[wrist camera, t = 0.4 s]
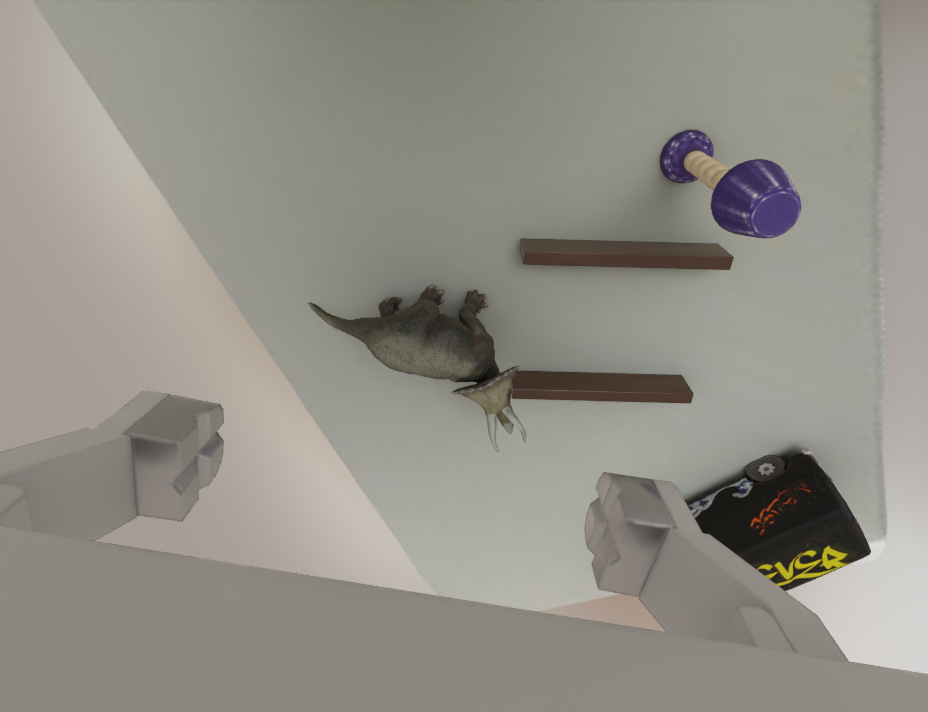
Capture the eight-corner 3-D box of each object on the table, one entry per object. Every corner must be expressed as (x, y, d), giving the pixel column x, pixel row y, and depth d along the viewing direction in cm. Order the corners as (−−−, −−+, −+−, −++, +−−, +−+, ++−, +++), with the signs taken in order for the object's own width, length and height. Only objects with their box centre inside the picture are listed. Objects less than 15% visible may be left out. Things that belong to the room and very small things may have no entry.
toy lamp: (684, 196, 47) (779, 265, 32) (641, 171, 46) (719, 229, 31) (722, 145, 44) (841, 194, 30) (677, 116, 43) (779, 153, 29)
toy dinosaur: (313, 296, 52) (277, 354, 42) (347, 221, 48) (316, 266, 38) (506, 389, 57) (513, 459, 47) (550, 328, 53) (568, 391, 44)
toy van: (609, 530, 68) (629, 601, 59) (800, 435, 60) (855, 501, 51) (650, 573, 72) (674, 646, 63) (834, 489, 64) (891, 559, 55)
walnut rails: (520, 238, 49) (524, 251, 46) (717, 243, 49) (734, 256, 46) (509, 380, 56) (511, 398, 53) (679, 384, 56) (691, 403, 53)
